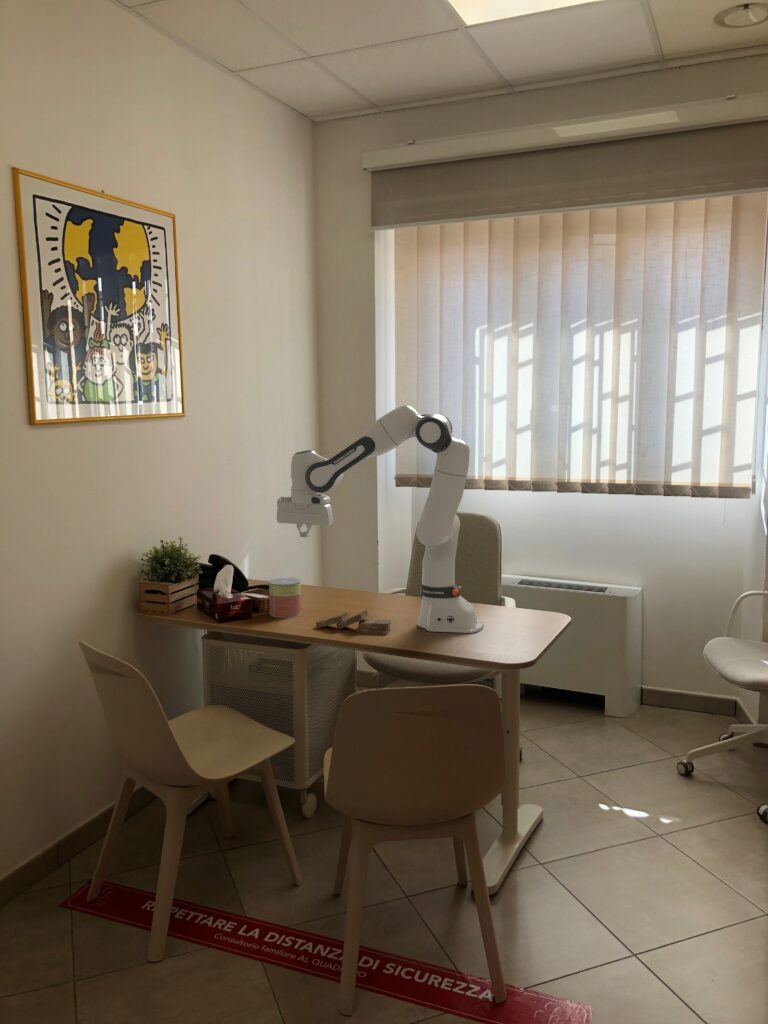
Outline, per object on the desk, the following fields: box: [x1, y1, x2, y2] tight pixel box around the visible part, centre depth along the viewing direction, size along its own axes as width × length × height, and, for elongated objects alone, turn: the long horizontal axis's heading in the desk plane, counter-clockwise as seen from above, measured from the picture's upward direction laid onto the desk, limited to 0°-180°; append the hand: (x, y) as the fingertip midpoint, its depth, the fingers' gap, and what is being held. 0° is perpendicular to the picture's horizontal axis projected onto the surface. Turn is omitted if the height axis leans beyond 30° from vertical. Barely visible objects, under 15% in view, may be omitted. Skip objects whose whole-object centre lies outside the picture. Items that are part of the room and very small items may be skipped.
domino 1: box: [315, 612, 350, 629], centre depth 290 cm, size 2×5×10 cm
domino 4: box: [355, 627, 391, 636], centre depth 285 cm, size 2×5×10 cm
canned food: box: [268, 577, 302, 619], centre depth 308 cm, size 11×11×12 cm
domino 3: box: [357, 618, 391, 630], centre depth 285 cm, size 2×5×10 cm
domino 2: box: [335, 609, 370, 630], centre depth 288 cm, size 2×5×10 cm
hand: (304, 537), depth 298 cm, fingers closed
